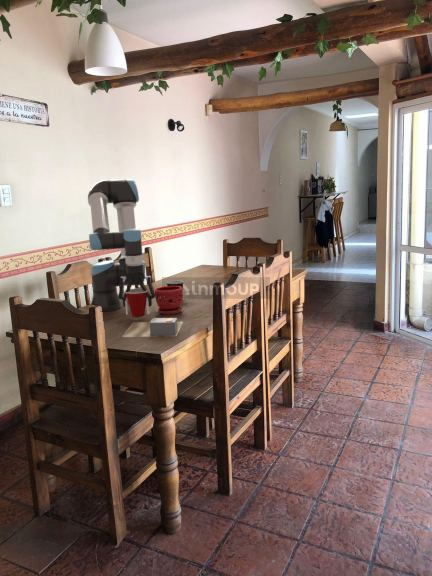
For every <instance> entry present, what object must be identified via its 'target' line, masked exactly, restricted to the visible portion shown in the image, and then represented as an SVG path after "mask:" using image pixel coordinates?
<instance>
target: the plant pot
mask: <svg viewBox="0 0 432 576" xmlns="http://www.w3.org/2000/svg"><path fill="white" fill-rule="evenodd" d="M154 292H155V298H154V299H155V301H156V302H155V303H156V304H157V307H158V308H157V311H158V313H159V314H161V315H177V314H178V313H181V312H182V310H183V306H182V303H183V298H184V295H183V293H184V289H183V290H182V287H180V286H167V285H165V286H160V287H155V288H154ZM179 294H180V295H179ZM172 296H173V297H172Z"/></svg>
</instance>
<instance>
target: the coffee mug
mask: <svg viewBox="0 0 432 576" xmlns="http://www.w3.org/2000/svg"><path fill="white" fill-rule="evenodd" d="M166 286H180V287H182V290H183V291H184V281H183V280H179V279H175V280H168V281H167V282H166ZM179 295H180V294H179ZM172 297H173V296H172Z"/></svg>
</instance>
